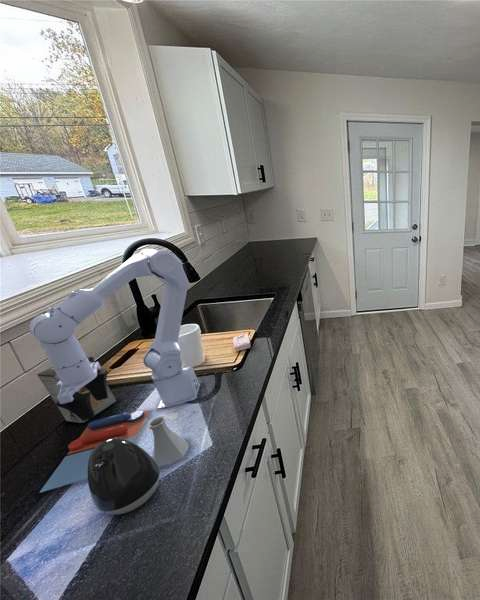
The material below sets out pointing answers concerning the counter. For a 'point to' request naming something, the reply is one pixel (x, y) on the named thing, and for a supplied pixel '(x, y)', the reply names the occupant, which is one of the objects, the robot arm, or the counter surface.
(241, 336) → the soap bar
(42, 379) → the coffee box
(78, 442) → the red spoon
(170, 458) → the flask
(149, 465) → the black rounded cone
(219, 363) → the counter surface
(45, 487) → the blue mat
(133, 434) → the terracotta mat
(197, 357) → the foam cup
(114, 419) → the blue spoon
